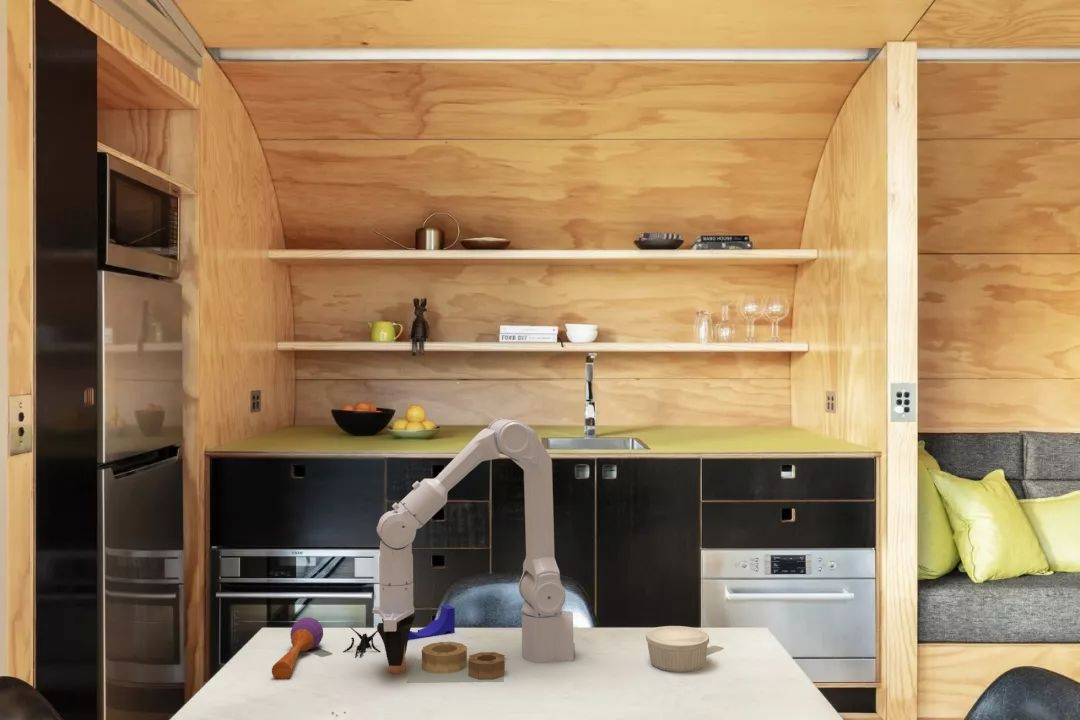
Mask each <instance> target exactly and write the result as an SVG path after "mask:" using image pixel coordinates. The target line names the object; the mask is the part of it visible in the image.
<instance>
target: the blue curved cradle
mask: <svg viewBox="0 0 1080 720" xmlns="http://www.w3.org/2000/svg"><path fill="white" fill-rule="evenodd" d="M455 619H456V614H455V607H453V606H451V605H450V604H445V605H441V609H440V614H439V616H438V618H436V619H433V620H432V621H431V622H430V623H429V624H428V625H427V626H425V627H423V628H421V629H417V631H411V630H410V632H409V637H408V641H413V640H419V639H424V638H432V637H437V636H438V637H439V636H444V635H446V633H450V634H455V632H456V630H455V629H456V625H455V624H456V623H455V622H456V621H455Z"/></svg>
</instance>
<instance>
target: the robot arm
mask: <svg viewBox="0 0 1080 720" xmlns="http://www.w3.org/2000/svg"><path fill="white" fill-rule="evenodd" d="M500 455H504V456H506V457H508V458H509V459H511V460H512V461H513V462H514V463H515V464H516V465H518V466H519V468H521V469H522V470H523V485H524V487H523V488H524V490H523V491H524V519H525V520H524V521H525V559H524V560H523V563H522V568H523V569H522V575H521V578H520V579H519V582H518V593H519V595H520V597H521V598H522V599H523V600H524V603H523V605H522V608H521V658H522V659H523V660H525V661H528V662H532V663H541V664H542V663H554V662H574V659H575V658H574V654H575V653H576V647H575V646H576V645H575V644H576V643H575V642H574V613H573V611H572V610H563V607H564V605H565V602H566V599H567V597H566V594H567V593H566V590H565V587H564V586H563V584H562V581H561V573H560V569H559V567H558V564H557V561H556V558H555V531H554V530H555V528H554V527H555V523H554V522H555V521H554V494H553V493H554V492H553V491H554V490H553V488H554V487H553V484H554V483H553V461H552V457H551V455H550V454H549V452H548V451H547V449H546V447H545V446H544V445H543V443H542V442H541V440H540V439H539V437H538V434H537V431H536V430H535V429H533V428H532V427H530V426H529V425H528V424H526V423H524V422H523V421H521V420H517V419H514V420H512V419H509V418H506V417H505V418H504V417H502V418H501V417H499V418H497V419H495V420H492V421H491V423H490V424H489V425H488V426H487V428H483V429H482V430H481V431H479V432H478V433H477V434H476V435H475V436H474V437H473V438H472V439H471V440H470V441H469V442H468V443H467V444H466V446H465V447H464V448H462V449H461V451H460V452H459V453H458V454H456V455H455V456H454V458H453V459H452V460H451V461H450V462H449V463H448V464H447V465H446V466H445V467H444V468H443V469H442V470H441V472H439V473H438V475H437V476H436V477H435V478H423V479H422V480H421V481H420V482H419V480H416V481H415V482H414V483H413V484H412V485H411V487H412V488H413V489H412V490H410V492H409V493H408V494H407V495H406V496H405V497H404V498H402V499H401V500H400V501H399V502H398V503H397V502H394V503H393V504H392V505H391V507H392V508H393V510H392V509H391V510H389V511H387V512H385V513H384V514H382V515H381V516H380V518H379V521H378V523H377V526H376V533H377V534H378V536H379V538H380V539H381V540H380V541H379V542H380V543H379V544H380V545H379V553H380V554H379V557H378V561H379V564H378V566H379V568H378V570H379V572H378V574H379V575H378V576H379V578H378V580H379V581H378V582H379V584H378V585H379V606H374V607H373V608H372V614H376V615H377V614H378V615H379V617H380V618H381V621H382V622H378V623H377V625H376V631H377V630H378V632H377V633H378V635H380V638H381V640H382V642H383V646H384V650H385V655H386V658H387V659H386V660H387V663H388V667H389V666H401V665H402V661H403V656H404V648H405V655H406V654H407V649H408V647H407V646H408V642H409V640H408V637H409V632H410V631H411V628H412V626H413V623H414V621H415V619H416V614H415V606H414V555H413V549H412V548H413V542H414V540H415V538H416V534H417V530H418V529H421V528H422V527H423V526H424V525H426V524H427V523H428V521H429V520H431V518H432V517H434V516H435V515H436V514H437V513H438V512H439V511H440V510H441V509H442V508H443V507H444V506H445V505H446V504H447V502H448V492H449V491H450V490H451V489H453V488H454V487H455V486H456V485H457V484H458V483H459V482H460V481H462V480H463V479H464V478H465V477H466V476H467V475H468V474H469V473H470V472H472V471H473V470H474V469H475V468H476V467H478V465H480V464H481V463H482V462H486V461H492V460H497V459H500V458H501V456H500Z"/></svg>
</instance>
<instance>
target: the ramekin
mask: <svg viewBox="0 0 1080 720" xmlns="http://www.w3.org/2000/svg"><path fill="white" fill-rule="evenodd" d="M645 634H646V635H645V640H646V643H647V648H648V655H649V660H650V663H652V665H653V666H654V667H655V668H657V669H659V670H661V671H665V670H666V672H670V671H671V672H672V673H691V672H695V671H699V670H700V669H702V668H703V667H704V665H705V663H706V657H707V653H708V645H709V643H710V636H709V635H708V633H707V632H705V631H703V630H701V629H699V628H695V627H691V626H684V625H683V626H681V625H665V626H657V627H653V628H651V629H649V630H648V631H647V632H646V633H645ZM671 672H670V673H671Z"/></svg>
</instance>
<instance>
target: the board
mask: <svg viewBox="0 0 1080 720" xmlns="http://www.w3.org/2000/svg"><path fill="white" fill-rule="evenodd" d="M468 660H469V657H467V666H466V668H465V669H463V670H461V671H458V672H453V673H438V674H436V673H431V672H426V671H425V670H424V669H422V658H415V660H414V662H413V664H412V668H411V670H410V672H409V675H408V677H407V680H406V684H414V683H415V684H419V683H421V684H422V683H425V684H427V683H428V684H429V683H432V684H433V683H434V684H435V683H504V681H505V675H504V676H502V677H499V678H496V679H493V680H479V679H475V678H472V677H469V676H468ZM505 662H506V657H505ZM504 674H505V672H504Z"/></svg>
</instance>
